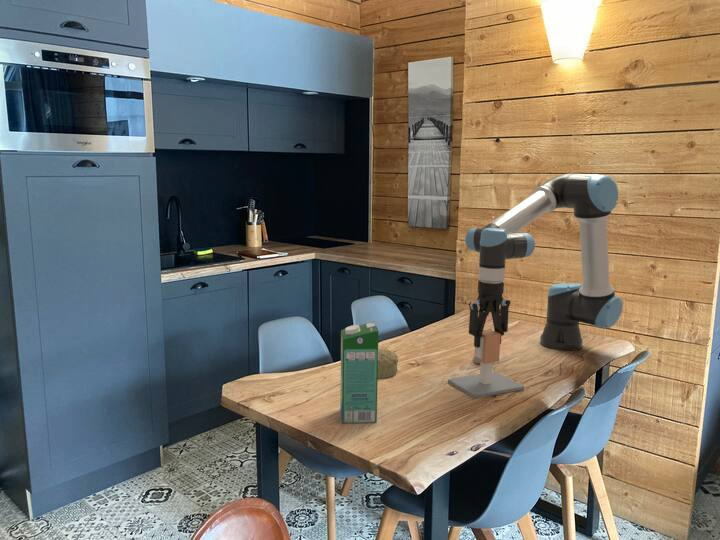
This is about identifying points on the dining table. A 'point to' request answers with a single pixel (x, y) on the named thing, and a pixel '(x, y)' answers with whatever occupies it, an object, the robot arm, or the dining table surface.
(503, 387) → the grey flat base
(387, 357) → the decorative object
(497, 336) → the peach square-faced block
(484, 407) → the dining table surface
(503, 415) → the dining table surface
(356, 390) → the milk carton
